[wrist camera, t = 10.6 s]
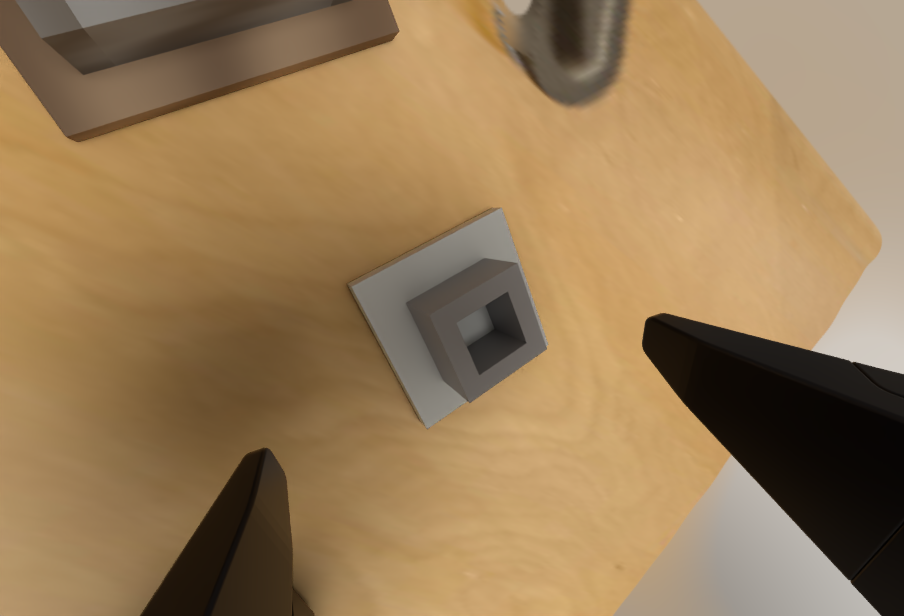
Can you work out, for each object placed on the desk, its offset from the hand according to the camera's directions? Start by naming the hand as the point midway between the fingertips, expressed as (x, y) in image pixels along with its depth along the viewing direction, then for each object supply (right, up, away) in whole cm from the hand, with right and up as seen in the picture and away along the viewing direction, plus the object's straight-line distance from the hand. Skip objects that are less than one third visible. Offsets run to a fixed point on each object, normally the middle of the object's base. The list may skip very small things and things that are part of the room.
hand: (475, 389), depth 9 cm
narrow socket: (0, +1, +13) cm, 13 cm away
